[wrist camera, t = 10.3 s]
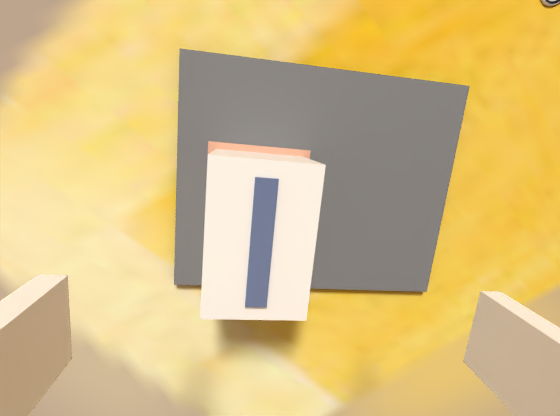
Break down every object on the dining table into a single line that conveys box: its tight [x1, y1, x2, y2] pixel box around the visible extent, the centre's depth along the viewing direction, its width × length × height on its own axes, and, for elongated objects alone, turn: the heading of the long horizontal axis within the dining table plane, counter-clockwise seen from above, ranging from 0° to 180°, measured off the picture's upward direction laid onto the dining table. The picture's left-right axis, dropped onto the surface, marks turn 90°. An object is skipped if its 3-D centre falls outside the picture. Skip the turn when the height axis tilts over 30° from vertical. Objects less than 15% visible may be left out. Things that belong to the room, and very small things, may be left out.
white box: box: [200, 149, 326, 321], centre depth 20 cm, size 9×6×6 cm, turn 175°
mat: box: [174, 49, 469, 292], centre depth 23 cm, size 20×16×1 cm
